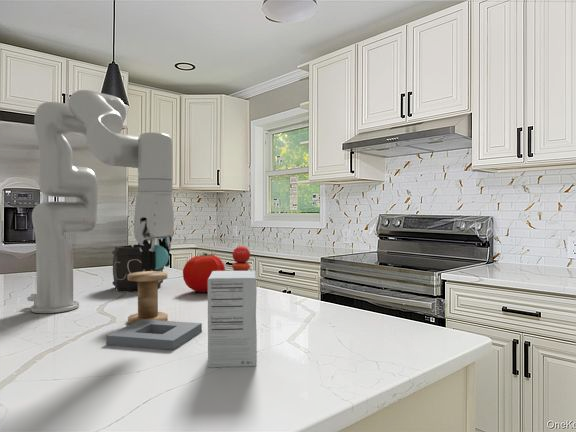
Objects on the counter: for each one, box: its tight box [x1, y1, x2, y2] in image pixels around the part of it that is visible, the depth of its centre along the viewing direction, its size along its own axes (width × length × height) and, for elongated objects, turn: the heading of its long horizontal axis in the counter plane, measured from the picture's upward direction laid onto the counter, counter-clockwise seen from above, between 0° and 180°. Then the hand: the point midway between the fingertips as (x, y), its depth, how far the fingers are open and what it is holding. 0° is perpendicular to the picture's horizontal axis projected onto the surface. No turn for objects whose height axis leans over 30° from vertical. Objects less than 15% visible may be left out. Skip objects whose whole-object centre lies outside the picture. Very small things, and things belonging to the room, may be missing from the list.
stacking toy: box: [231, 245, 251, 271], centre depth 125 cm, size 8×8×19 cm
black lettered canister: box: [111, 243, 165, 293], centre depth 161 cm, size 18×18×16 cm
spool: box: [127, 271, 169, 325], centre depth 114 cm, size 10×10×12 cm
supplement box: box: [207, 270, 258, 368], centre depth 85 cm, size 10×9×17 cm
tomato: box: [182, 252, 226, 293], centre depth 153 cm, size 16×14×14 cm
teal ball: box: [154, 244, 169, 269], centre depth 98 cm, size 6×6×6 cm
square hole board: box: [105, 319, 203, 351], centre depth 99 cm, size 16×14×2 cm
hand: (155, 266), depth 99 cm, fingers closed on teal ball, 5 cm apart
